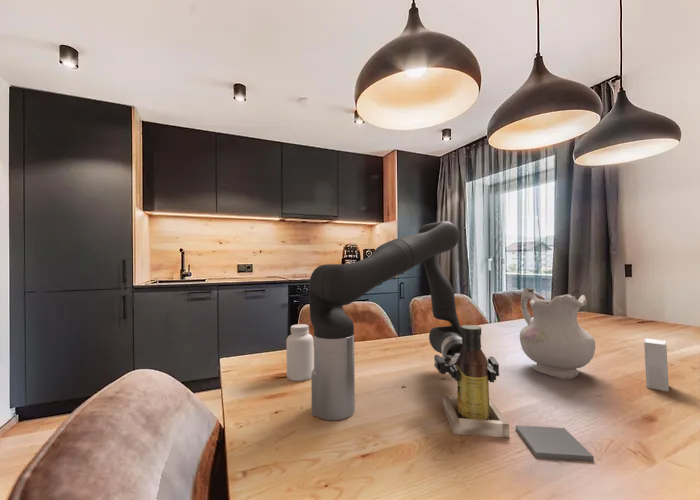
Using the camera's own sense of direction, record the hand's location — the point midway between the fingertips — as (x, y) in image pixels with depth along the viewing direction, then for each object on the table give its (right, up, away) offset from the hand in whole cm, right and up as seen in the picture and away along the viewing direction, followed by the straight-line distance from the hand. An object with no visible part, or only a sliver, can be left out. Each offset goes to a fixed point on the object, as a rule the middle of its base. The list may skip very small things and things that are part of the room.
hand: (474, 376), depth 64 cm
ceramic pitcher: (+37, -11, +32) cm, 50 cm away
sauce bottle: (0, -10, +2) cm, 10 cm away
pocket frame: (0, -10, +2) cm, 10 cm away
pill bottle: (-40, -12, +29) cm, 51 cm away
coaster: (+11, -10, -7) cm, 16 cm away
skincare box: (+56, -11, +19) cm, 60 cm away
